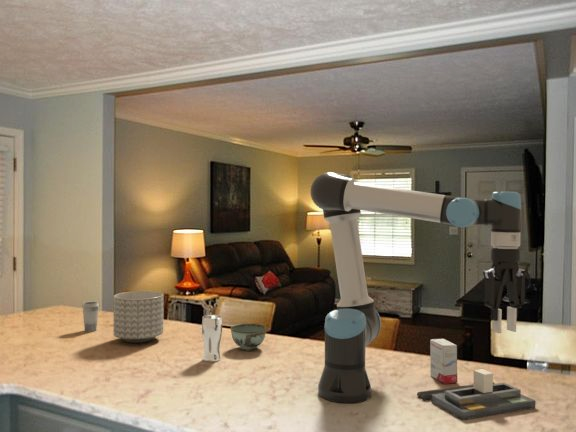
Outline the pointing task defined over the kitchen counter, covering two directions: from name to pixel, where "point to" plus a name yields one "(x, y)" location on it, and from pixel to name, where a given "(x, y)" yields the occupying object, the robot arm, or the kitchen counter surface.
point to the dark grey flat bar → (439, 391)
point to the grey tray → (482, 401)
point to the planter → (138, 315)
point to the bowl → (248, 335)
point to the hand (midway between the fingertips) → (504, 331)
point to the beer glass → (211, 337)
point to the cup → (90, 315)
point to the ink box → (443, 360)
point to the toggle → (482, 381)
